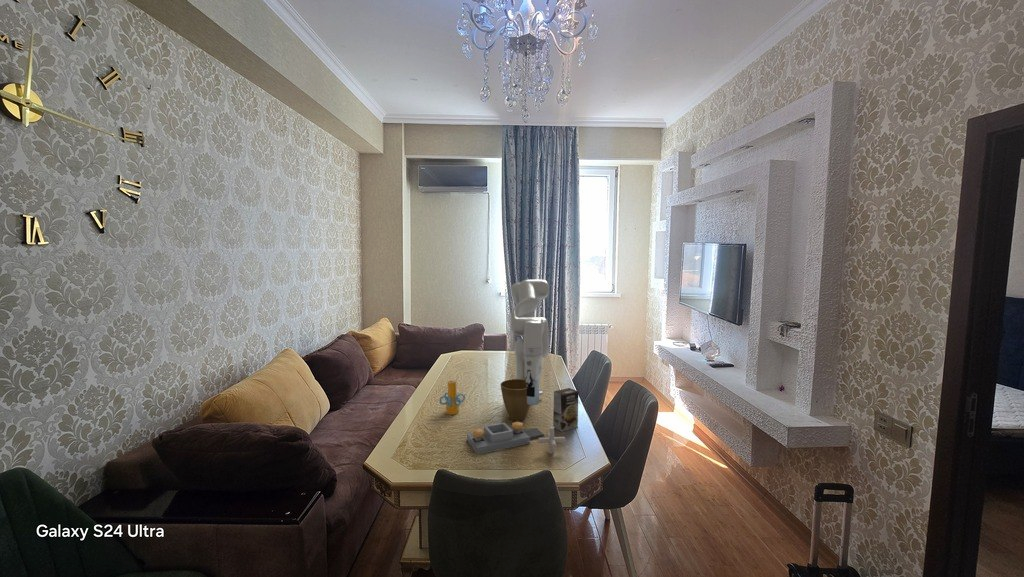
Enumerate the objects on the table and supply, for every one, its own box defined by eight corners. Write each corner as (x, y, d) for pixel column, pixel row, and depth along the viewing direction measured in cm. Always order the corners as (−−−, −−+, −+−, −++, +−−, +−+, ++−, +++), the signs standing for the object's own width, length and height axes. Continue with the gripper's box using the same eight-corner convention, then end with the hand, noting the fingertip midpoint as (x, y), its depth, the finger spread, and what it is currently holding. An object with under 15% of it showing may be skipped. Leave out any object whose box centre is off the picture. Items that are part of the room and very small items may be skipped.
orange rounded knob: (481, 438, 175) (481, 428, 174) (485, 443, 171) (485, 432, 170) (471, 440, 173) (470, 430, 173) (474, 445, 169) (474, 434, 169)
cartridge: (540, 401, 182) (540, 371, 180) (536, 405, 177) (537, 374, 176) (529, 400, 183) (529, 370, 182) (525, 404, 179) (525, 373, 178)
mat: (536, 430, 186) (536, 427, 186) (544, 436, 180) (544, 434, 180) (521, 432, 184) (521, 430, 183) (528, 439, 177) (528, 437, 177)
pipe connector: (536, 447, 171) (536, 422, 170) (561, 446, 172) (562, 421, 171) (540, 459, 161) (541, 433, 160) (567, 458, 162) (567, 432, 161)
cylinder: (459, 418, 199) (458, 386, 197) (437, 416, 201) (436, 384, 199) (467, 408, 211) (466, 378, 209) (446, 406, 213) (446, 376, 211)
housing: (516, 430, 186) (516, 418, 185) (529, 443, 174) (530, 430, 174) (467, 440, 177) (466, 427, 176) (477, 454, 165) (477, 440, 165)
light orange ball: (519, 431, 182) (520, 421, 181) (524, 435, 178) (524, 425, 177) (510, 433, 180) (510, 422, 179) (514, 437, 176) (514, 427, 175)
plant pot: (529, 410, 208) (529, 377, 207) (536, 423, 194) (536, 388, 192) (498, 412, 206) (498, 379, 204) (503, 425, 191) (503, 390, 189)
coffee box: (561, 432, 184) (562, 395, 183) (552, 426, 190) (553, 390, 188) (578, 427, 189) (579, 391, 187) (569, 422, 195) (569, 387, 193)
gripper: (535, 356, 169) (535, 402, 171) (547, 347, 185) (547, 389, 186) (517, 354, 172) (517, 399, 173) (530, 345, 187) (530, 387, 189)
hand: (532, 393), depth 180 cm, fingers closed on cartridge, 5 cm apart
